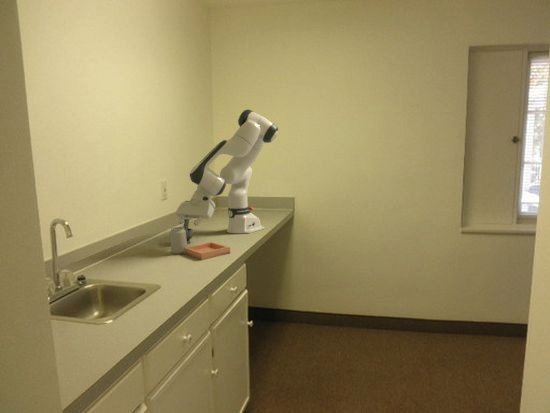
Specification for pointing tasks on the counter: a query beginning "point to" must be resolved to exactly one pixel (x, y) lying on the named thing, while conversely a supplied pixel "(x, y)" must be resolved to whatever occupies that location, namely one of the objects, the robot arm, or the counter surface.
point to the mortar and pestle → (188, 230)
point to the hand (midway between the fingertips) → (188, 224)
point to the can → (178, 240)
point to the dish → (206, 250)
